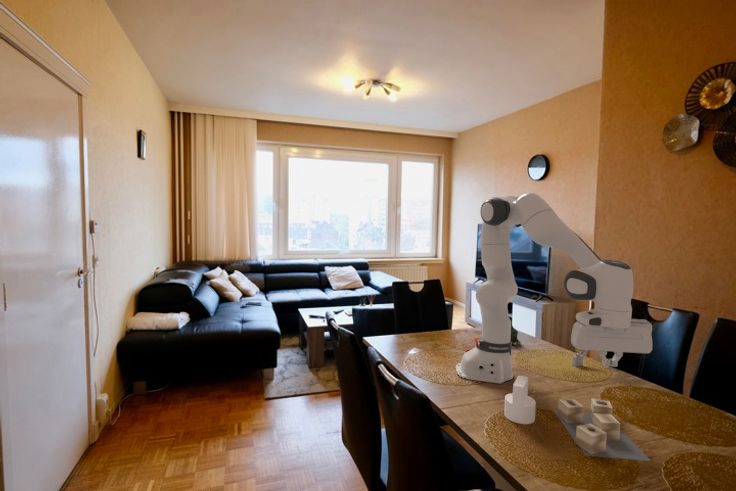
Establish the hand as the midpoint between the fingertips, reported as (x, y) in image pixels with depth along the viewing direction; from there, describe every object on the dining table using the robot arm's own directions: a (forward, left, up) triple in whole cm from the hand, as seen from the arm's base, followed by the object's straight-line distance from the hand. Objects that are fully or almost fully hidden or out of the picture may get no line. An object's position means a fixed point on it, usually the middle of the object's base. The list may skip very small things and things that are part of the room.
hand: (609, 365), depth 107 cm
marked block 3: (-7, -7, -20) cm, 23 cm away
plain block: (0, 0, -20) cm, 21 cm away
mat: (-2, +1, -21) cm, 21 cm away
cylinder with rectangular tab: (-22, +7, -21) cm, 31 cm away
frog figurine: (-8, +83, -22) cm, 86 cm away
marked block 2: (+3, +9, -20) cm, 23 cm away
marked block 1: (-7, +8, -20) cm, 23 cm away
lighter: (+16, +57, -21) cm, 63 cm away
